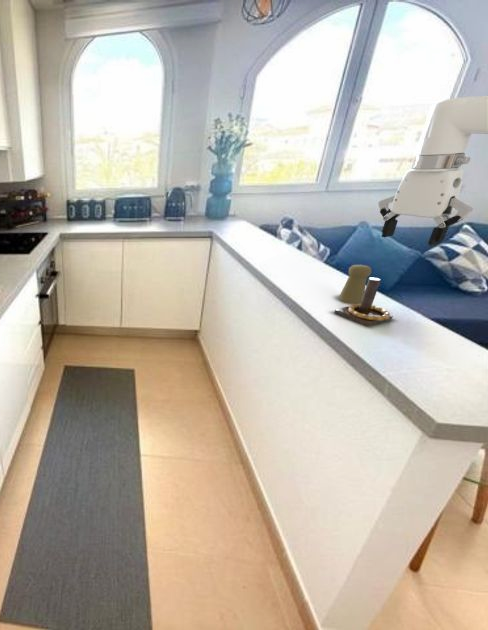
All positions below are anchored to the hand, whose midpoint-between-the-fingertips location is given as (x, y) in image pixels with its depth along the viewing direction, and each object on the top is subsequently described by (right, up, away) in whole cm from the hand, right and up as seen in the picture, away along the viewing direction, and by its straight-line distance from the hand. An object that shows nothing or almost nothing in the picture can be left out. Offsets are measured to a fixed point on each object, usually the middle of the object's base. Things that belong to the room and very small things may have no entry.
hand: (409, 240), depth 83 cm
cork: (+5, -14, +23) cm, 27 cm away
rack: (0, -19, +13) cm, 23 cm away
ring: (0, -17, +12) cm, 21 cm away
